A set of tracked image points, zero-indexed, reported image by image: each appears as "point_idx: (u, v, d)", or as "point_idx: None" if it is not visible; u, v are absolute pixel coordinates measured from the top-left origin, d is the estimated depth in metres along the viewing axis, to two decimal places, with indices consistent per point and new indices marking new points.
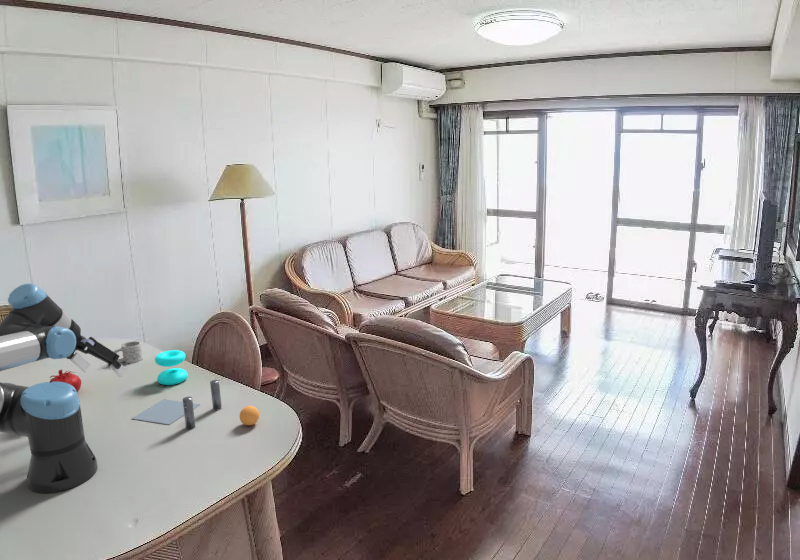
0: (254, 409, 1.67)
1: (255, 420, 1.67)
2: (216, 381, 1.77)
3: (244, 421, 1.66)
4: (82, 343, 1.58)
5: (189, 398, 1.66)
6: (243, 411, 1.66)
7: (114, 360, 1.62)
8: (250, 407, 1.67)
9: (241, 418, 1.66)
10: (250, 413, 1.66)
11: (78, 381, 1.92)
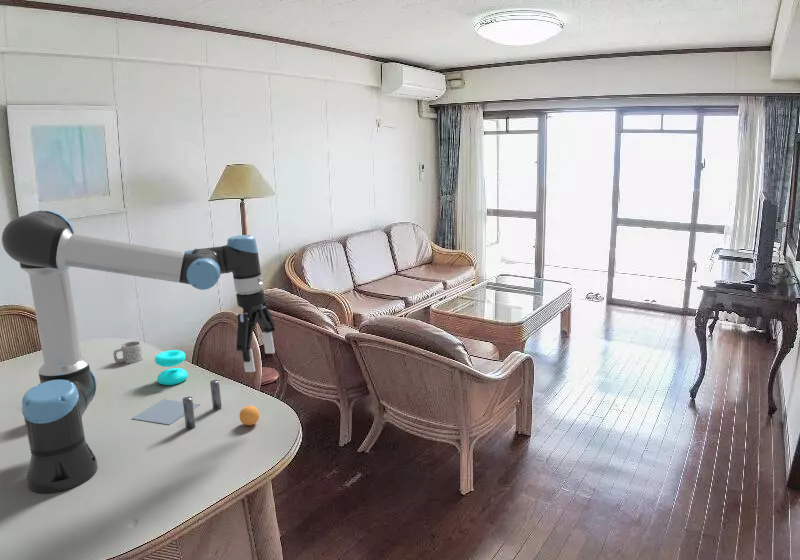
0: (254, 409, 1.67)
1: (255, 420, 1.67)
2: (216, 381, 1.77)
3: (244, 421, 1.66)
4: None
5: (189, 398, 1.66)
6: (243, 411, 1.66)
7: (238, 347, 1.54)
8: (250, 407, 1.67)
9: (241, 418, 1.66)
10: (250, 413, 1.66)
11: None
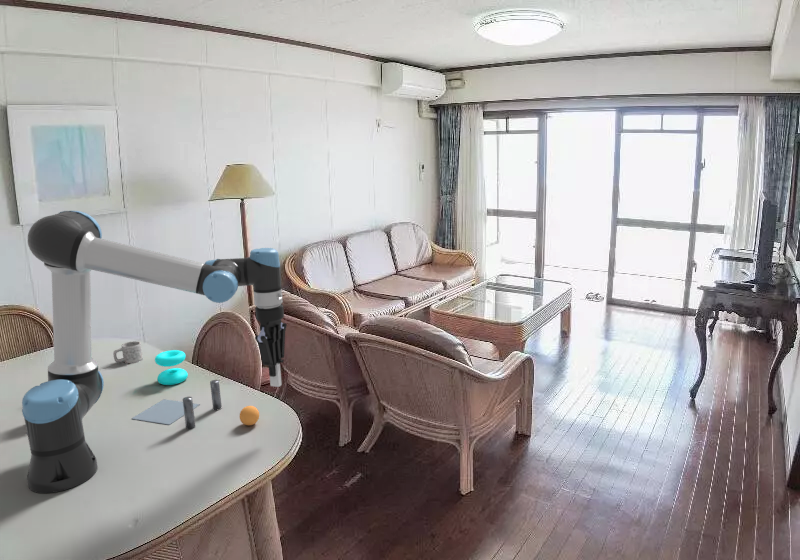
0: (254, 409, 1.67)
1: (255, 420, 1.67)
2: (216, 381, 1.77)
3: (244, 421, 1.66)
4: None
5: (189, 398, 1.66)
6: (243, 411, 1.66)
7: (264, 362, 1.58)
8: (250, 407, 1.67)
9: (241, 418, 1.66)
10: (250, 413, 1.66)
11: None
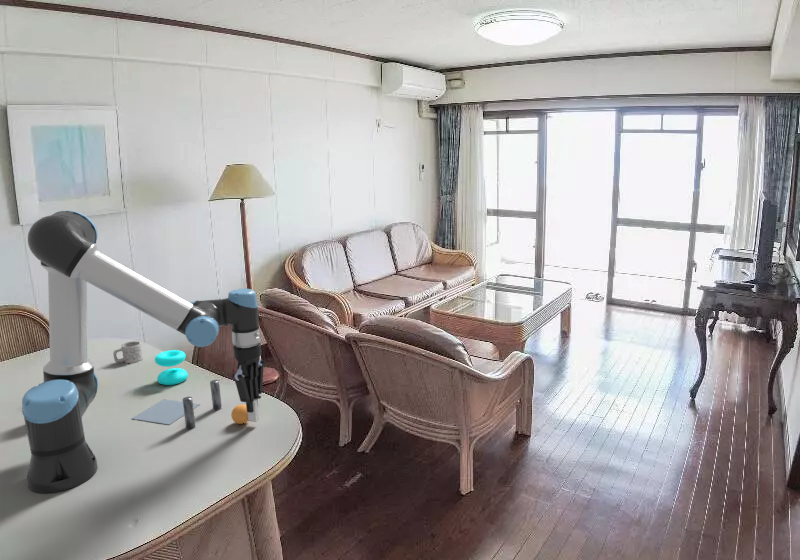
0: (241, 405, 1.68)
1: (246, 413, 1.67)
2: (216, 381, 1.77)
3: (237, 419, 1.66)
4: (238, 369, 1.60)
5: (189, 398, 1.66)
6: (232, 412, 1.68)
7: (242, 399, 1.63)
8: (237, 406, 1.69)
9: (233, 419, 1.67)
10: (238, 409, 1.67)
11: None
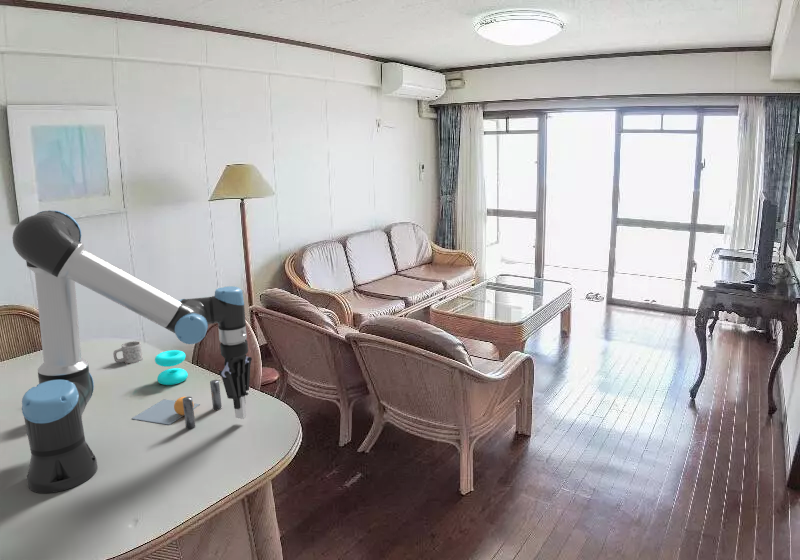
0: None
1: None
2: (216, 381, 1.77)
3: (179, 409, 1.73)
4: (225, 366, 1.62)
5: (189, 398, 1.66)
6: None
7: (229, 395, 1.64)
8: None
9: (177, 412, 1.73)
10: (175, 402, 1.74)
11: None
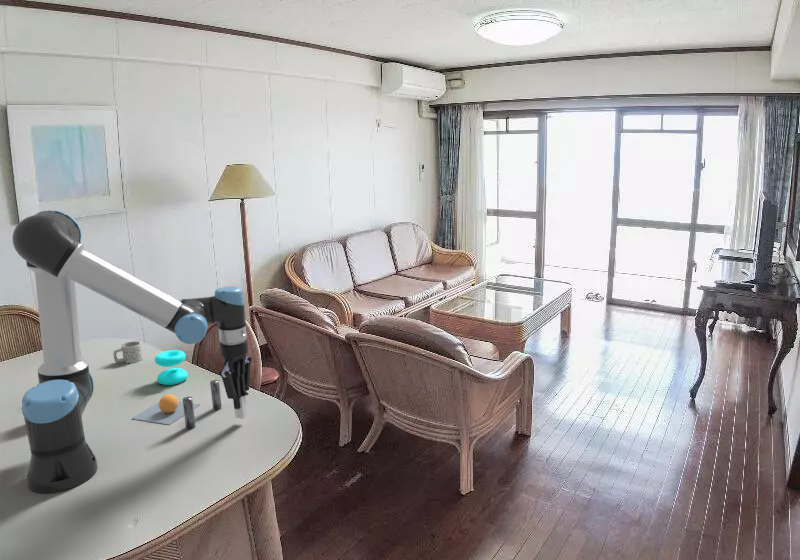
0: None
1: None
2: (216, 381, 1.77)
3: (161, 406, 1.75)
4: (225, 366, 1.62)
5: (189, 398, 1.66)
6: (169, 411, 1.75)
7: (229, 395, 1.64)
8: None
9: (165, 407, 1.74)
10: None
11: None
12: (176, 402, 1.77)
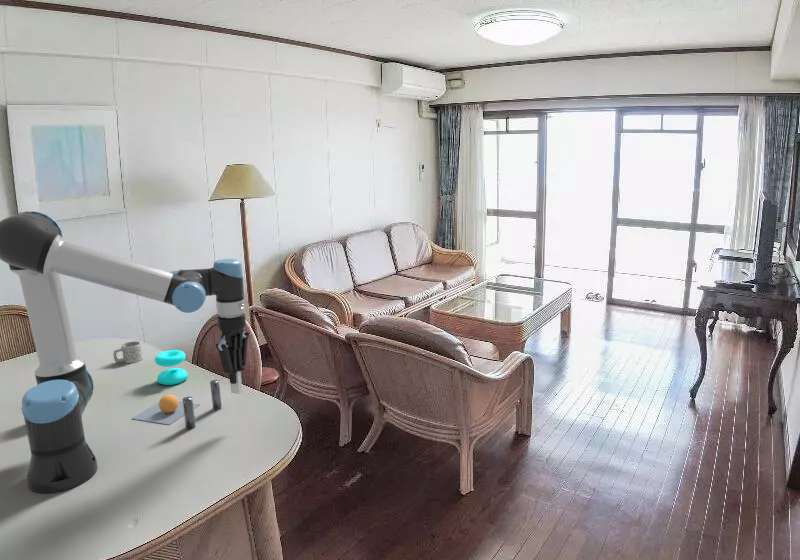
0: None
1: None
2: (216, 381, 1.77)
3: (161, 406, 1.75)
4: (222, 339, 1.60)
5: (189, 398, 1.66)
6: (169, 411, 1.75)
7: (225, 369, 1.62)
8: None
9: (165, 407, 1.74)
10: None
11: None
12: (176, 402, 1.77)
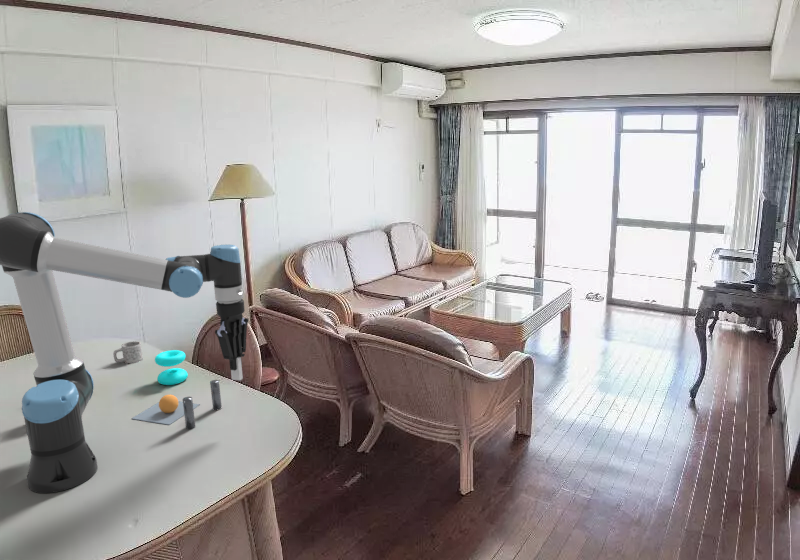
0: None
1: None
2: (216, 381, 1.77)
3: (161, 406, 1.75)
4: (221, 325, 1.59)
5: (189, 398, 1.66)
6: (169, 411, 1.75)
7: (225, 356, 1.61)
8: None
9: (165, 407, 1.74)
10: None
11: None
12: (176, 402, 1.77)
